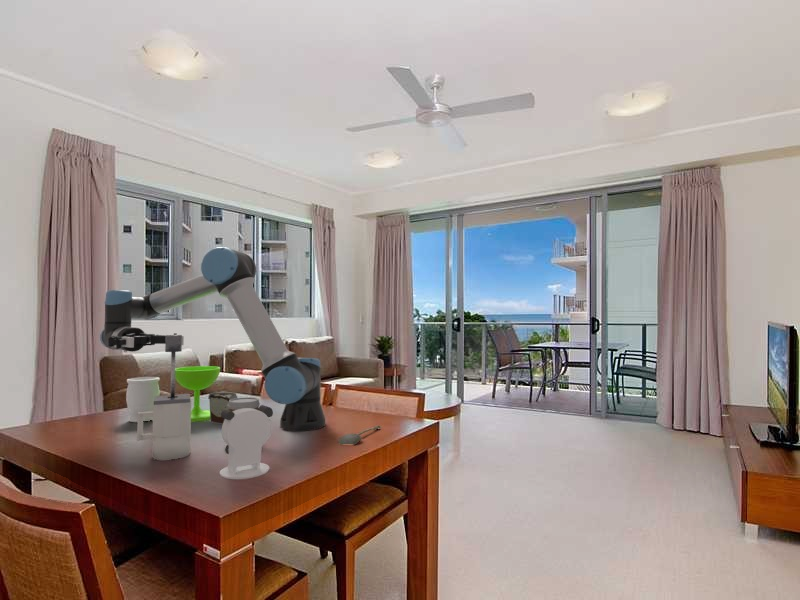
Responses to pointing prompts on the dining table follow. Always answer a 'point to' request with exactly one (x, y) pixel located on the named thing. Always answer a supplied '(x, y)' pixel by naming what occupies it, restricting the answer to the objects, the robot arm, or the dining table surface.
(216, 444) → the dining table surface
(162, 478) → the dining table surface
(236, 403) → the disposable coffee cup
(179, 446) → the press pot
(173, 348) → the plunger
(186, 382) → the wineglass
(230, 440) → the panda figurine
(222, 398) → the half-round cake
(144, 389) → the jar
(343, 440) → the soupspoon
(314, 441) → the dining table surface
